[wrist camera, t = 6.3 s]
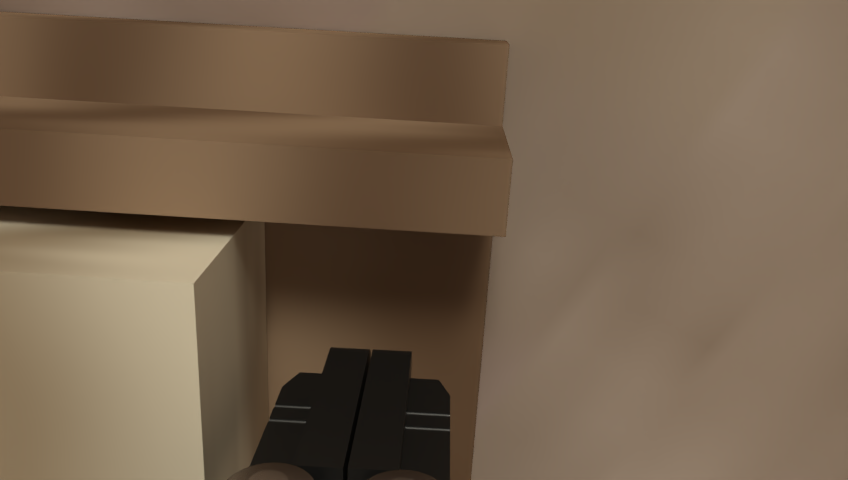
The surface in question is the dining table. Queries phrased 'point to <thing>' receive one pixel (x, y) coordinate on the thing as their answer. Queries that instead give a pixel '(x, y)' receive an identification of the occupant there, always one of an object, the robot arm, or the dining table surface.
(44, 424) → the birch block
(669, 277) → the dining table surface
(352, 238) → the chute
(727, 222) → the dining table surface
